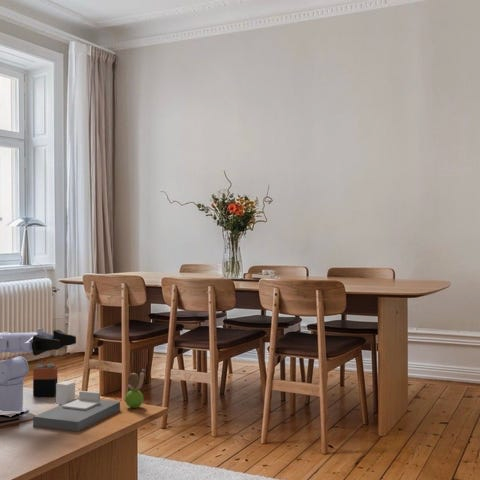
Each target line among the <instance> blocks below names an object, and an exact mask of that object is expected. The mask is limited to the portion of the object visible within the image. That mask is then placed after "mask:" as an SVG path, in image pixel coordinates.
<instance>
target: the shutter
mask: <svg viewBox="0 0 480 480" xmlns="http://www.w3.org/2000/svg"><path fill="white" fill-rule="evenodd" d="M78 393H79V395H78V398H79V400H75V401H73V402H70V403H68V404H66V405H63V406H62V408H70V409H79V410H87V409H89V408H92V407H94V406H96V405H98V404H100V402H99V401H100V400H101V392H97V391H86V390H80V391H78Z"/></svg>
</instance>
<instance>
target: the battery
mask: <svg viewBox="0 0 480 480" xmlns="http://www.w3.org/2000/svg"><path fill="white" fill-rule="evenodd" d="M32 372H33V373H32V375H33V376H32V381H33V382H32V383H33V385H32V397H34V398H54V397H56V384H57V383H58V366H57V365H55V364H54V363H48V364H47V365H43V364H41V363H40V364H37V366H35V367H34V368H33V371H32Z"/></svg>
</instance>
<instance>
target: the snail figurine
mask: <svg viewBox="0 0 480 480" xmlns="http://www.w3.org/2000/svg"><path fill="white" fill-rule="evenodd" d="M141 371H142V372H140V373H139V375H138V373H136V372H132V373H130V374H129V375H128V377H127V382H128V385H127V387H128V389H129V390H128V391H127V393H126V395H125V398H124V402H125V405H127V407H129V408H131V409H137V408H139V407H140V406H142V404H143V403H144V394H143V393H142V392H141V391H140V389H141V388H142V386H143V385H144V378H145V371H146V369H145V368H142V369H141Z"/></svg>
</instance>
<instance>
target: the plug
mask: <svg viewBox="0 0 480 480" xmlns="http://www.w3.org/2000/svg"><path fill="white" fill-rule="evenodd" d="M74 399H76V381H69V380H68V381H67V380H62V381H60V382H57V384H56V395H55V404H56V405H58V406H60V405H62V404H65V403H67V402H69V401H72V400H74Z"/></svg>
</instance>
